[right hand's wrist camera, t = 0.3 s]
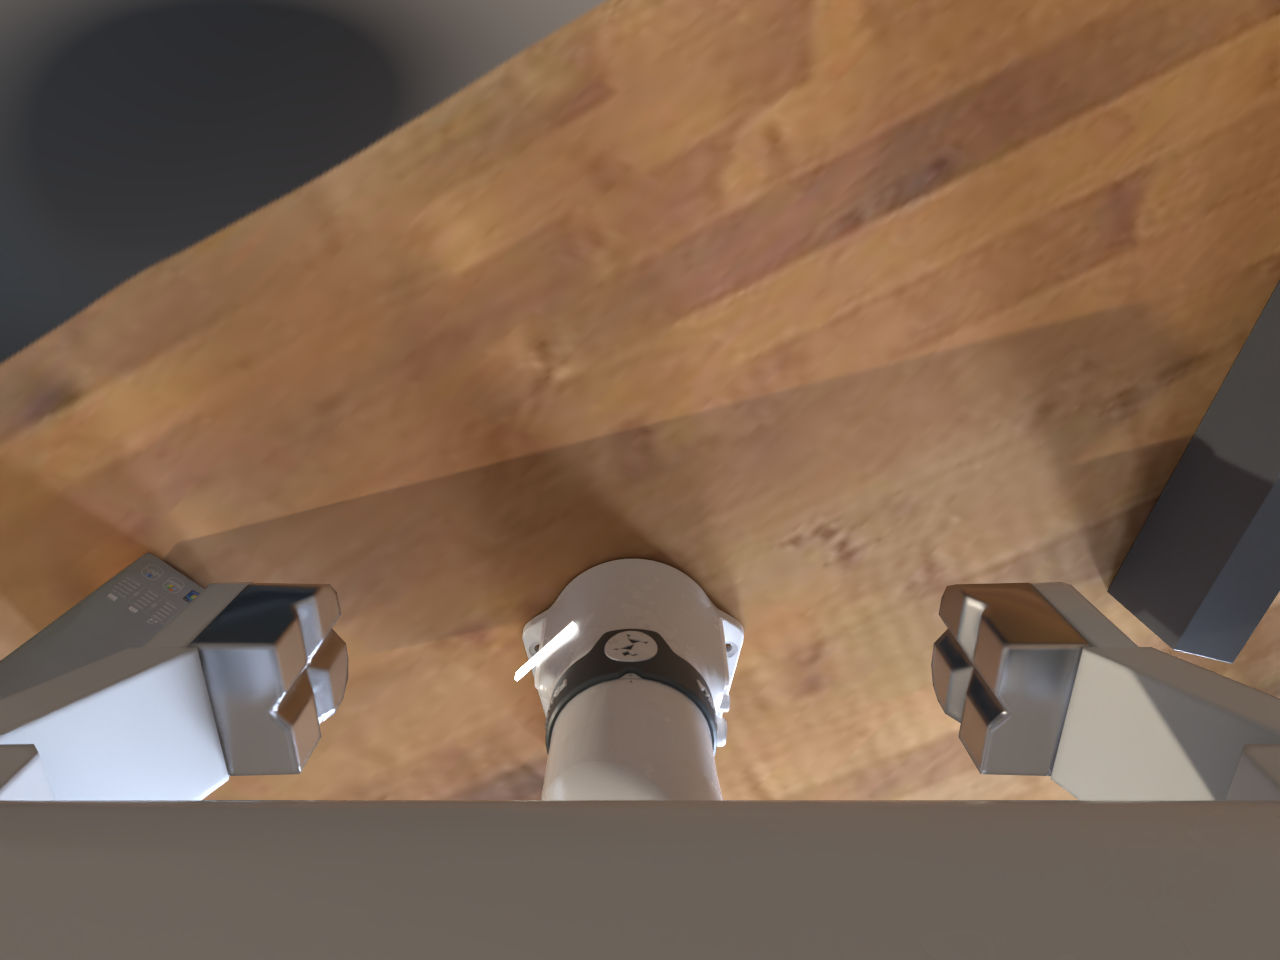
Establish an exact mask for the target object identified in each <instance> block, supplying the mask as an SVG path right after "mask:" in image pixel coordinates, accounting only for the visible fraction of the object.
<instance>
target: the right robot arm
mask: <svg viewBox="0 0 1280 960" xmlns="http://www.w3.org/2000/svg"><path fill="white" fill-rule="evenodd" d="M340 615H341V611H340V606H339V601H338V596H337V592H336V591H335V590H334V588H333V587H332V586H331V585H330V584H285V583H253V582H238V583H216V584H210V585H209V586H208V587H207V588H205V589H204V590H203V591H202V592H201V593H200V594H199V595H198V596H197V597H196V598H194V599H193V600H192V601H191V602H190V603H189V604H188V605H187V606H186V607H185V608H183V609H182V610H181V611H180V612H179V613H178V614H177V615H176V616H175V617H174V618H173V619H171V620H170V621H169V622H168V623H167V624H166V625H165V626H164V627H163V628H162V629H160V630H159V631H158V632H157V633H156V634H155V635H154V636H153V637H152V638H151V639H149V640H148V641H147V642H146V643H145V644H144V645H143V646H142V647H128V648H125V649H123V650H120V651H118V652H115V653H113V654H110V655H108V656H105V657H103V658H101V659H98V660H96V661H93V662H91V663H88V664H86V665H83V666H81V667H78V668H76V669H73V670H71V671H68V672H66V673H63V674H61V675H58V676H56V677H53V678H51V679H48V680H46V681H43V682H41V683H38V684H36V685H33V686H31V687H28V688H26V689H23V690H21V691H18V692H16V693H13V694H11V695H8V696H6V697H3V698H1V699H0V960H1280V699H1279V698H1276V697H1274V696H1271V695H1269V694H1266V693H1264V692H1261V691H1259V690H1256V689H1254V688H1251V687H1249V686H1246V685H1244V684H1241V683H1239V682H1237V681H1234V680H1232V679H1229V678H1227V677H1224V676H1222V675H1219V674H1217V673H1214V672H1212V671H1209V670H1207V669H1204V668H1202V667H1199V666H1197V665H1194V664H1192V663H1189V662H1187V661H1184V660H1182V659H1179V658H1177V657H1174V656H1172V655H1169V654H1167V653H1165V652H1162V651H1160V650H1157V649H1155V648H1152V647H1138V646H1137V645H1136V644H1135V643H1134V642H1133V641H1132V640H1131V639H1130V638H1128V637H1127V636H1126V635H1125V634H1124V633H1123V632H1122V631H1121V630H1120V629H1119V628H1117V627H1116V626H1115V625H1114V624H1113V623H1112V622H1111V621H1110V620H1109V619H1108V618H1107V617H1105V616H1104V615H1103V614H1102V613H1101V612H1100V611H1099V610H1098V609H1097V608H1096V607H1095V606H1093V605H1092V604H1091V603H1090V602H1089V601H1088V600H1087V599H1086V598H1085V597H1084V596H1082V595H1081V594H1080V593H1079V592H1078V591H1077V590H1076V589H1075V588H1074V587H1073V586H1072V585H1069V584H1066V583H1063V582H1049V583H999V584H957V585H951V586H947V587H946V589H945V591H944V594H943V596H942V599H941V605H940V610H939V615H940V617H941V618H942V620H943V622H944V623H945V625H946V626H947V628H948V629H947V630H946V631H945V632H944V633H943V634H942V636H941V637H940V638H939V639H938V640H937V641H936V642H935V643H934V648H933V656H932V664H931V667H932V678H933V687H934V690H935V693H936V696H937V699H938V702H939V703H940V705H941V707H942V709H943V711H944V712H945V714H947V715H948V716H950V717H952V718H953V719H955V720H957V721H958V722H960V723H961V726H960V732H959V738H960V740H961V742H962V743H963V745H964V747H965V749H966V750H967V752H968V754H969V755H970V757H971V759H972V760H973V762H974V764H975V766H976V767H977V769H978V771H979V772H980V774H997V775H1034V776H1051V780H1053V781H1054V782H1055V783H1057V784H1058V785H1059V786H1061V787H1062V788H1063V789H1065V790H1066V791H1067V792H1069V793H1070V794H1071V795H1073V796H1074V797H1076V798H1077V799H1078V800H723V798H722V794H721V790H720V786H719V781H718V777H717V772H716V766H715V760H714V756H715V753H716V747H717V746H718V747H722V746H724V745H725V742H726V736H727V721H726V719H724V718H721V717H722V714H723V712H728V710H729V706H730V696H729V695H728V693H729V689H730V686H731V682H732V679H733V675H734V671H735V668H736V664H737V661H738V657H739V654H740V650H741V647H742V643H743V639H744V631H743V627H742V625H741V624H740V623H739V622H738V621H737V620H736V619H734V618H733V617H731V616H730V615H728V614H726V613H725V612H723V611H721V610H719V609H718V608H717V607H716V606H715V605H714V604H713V603H712V602H711V601H710V599H709V598H708V596H707V595H706V594H705V592H704V591H703V590H702V589H701V587H700V586H699V585H698V584H697V583H696V582H695V581H694V580H692V579H691V578H690V577H689V576H687V575H686V574H684V573H683V572H681V571H679V570H678V569H676V568H674V567H671V566H669V565H666V564H664V563H660V562H657V561H652V560H646V559H619V560H613V561H609V562H605V563H602V564H599V565H597V566H594V567H592V568H590V569H588V570H586V571H585V572H583V573H582V574H580V575H579V576H577V577H576V578H575V579H573V580H572V581H571V582H570V583H569V584H568V585H567V586H566V587H565V589H564V590H563V591H562V592H561V594H560V595H559V597H558V598H557V599H556V601H555V602H554V604H553V605H552V606H551V607H550V608H549V609H548V610H546V611H544V612H543V613H541V614H539V615H538V616H536V617H534V618H533V619H531V620H530V621H529V622H528V623H527V624H526V625H525V626H524V628H523V643H524V646H525V649H526V653H527V656H528V659H529V661H528V662H527V663H526V664H525V665H523V666H522V667H521V668H520V669H519V670H518V671H517V672H516V675H515V680H516V681H518V680H519V679H520V678H522V677H523V676H524V675H525V674H526V673H527V672H528V671H529V670H531V669H532V672H533V676H534V679H535V687H536V688H537V689H538V692H539V696H540V699H541V702H542V705H543V709H544V712H545V715H546V726H545V729H546V748H547V753H548V760H547V767H546V773H545V779H544V785H543V792H542V798H541V800H202V799H203V798H205V797H206V796H207V795H209V794H210V793H211V792H213V791H214V790H215V789H217V788H218V787H220V786H221V785H222V784H224V783H225V782H226V781H228V780H229V776H246V775H282V774H300V772H301V771H302V769H303V767H304V766H305V764H306V762H307V761H308V759H309V757H310V755H311V754H312V752H313V750H314V749H315V747H316V745H317V743H318V742H319V740H320V738H321V732H320V726H319V723H320V722H322V721H323V720H325V719H327V718H328V717H330V716H332V715H333V714H335V712H336V711H337V709H338V707H339V705H340V703H341V701H342V699H343V697H344V693H345V688H346V684H347V680H348V654H347V647H346V643H345V642H344V641H343V640H342V639H341V638H340V637H339V636H338V634H337V633H336V632H335V631H334V630H333V629H332V628H333V626H334V625H335V623H336V622H337V620H338V618H339V617H340ZM538 644H540V645H539V648H538V647H537V646H536V645H538ZM726 644H730V646H729V647H726Z"/></svg>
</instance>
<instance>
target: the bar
mask: <svg viewBox="0 0 1280 960" xmlns="http://www.w3.org/2000/svg"><path fill="white" fill-rule="evenodd" d="M1279 591H1280V281H1279V283H1278V284H1277V286H1276V288H1275V290H1274V292H1273V293H1272V295H1271V297H1270V299H1269V301H1268V302H1267V304H1266V306H1265V308H1264V310H1263V311H1262V313H1261V315H1260V317H1259V319H1258V320H1257V322H1256V324H1255V326H1254V328H1253V329H1252V331H1251V333H1250V335H1249V337H1248V338H1247V340H1246V342H1245V344H1244V346H1243V347H1242V349H1241V351H1240V353H1239V355H1238V356H1237V358H1236V360H1235V362H1234V364H1233V365H1232V367H1231V369H1230V371H1229V373H1228V374H1227V376H1226V378H1225V380H1224V382H1223V383H1222V385H1221V387H1220V389H1219V391H1218V393H1217V394H1216V396H1215V398H1214V400H1213V402H1212V403H1211V405H1210V407H1209V409H1208V411H1207V412H1206V414H1205V416H1204V418H1203V420H1202V421H1201V423H1200V425H1199V427H1198V429H1197V430H1196V432H1195V434H1194V436H1193V438H1192V439H1191V441H1190V443H1189V445H1188V447H1187V448H1186V450H1185V452H1184V454H1183V456H1182V457H1181V459H1180V461H1179V463H1178V465H1177V466H1176V468H1175V470H1174V472H1173V474H1172V475H1171V477H1170V479H1169V481H1168V483H1167V484H1166V486H1165V488H1164V490H1163V492H1162V493H1161V495H1160V497H1159V499H1158V501H1157V502H1156V504H1155V506H1154V508H1153V510H1152V511H1151V513H1150V515H1149V517H1148V519H1147V520H1146V522H1145V524H1144V526H1143V528H1142V529H1141V531H1140V533H1139V535H1138V537H1137V538H1136V540H1135V542H1134V544H1133V546H1132V547H1131V549H1130V551H1129V553H1128V555H1127V556H1126V558H1125V560H1124V562H1123V564H1122V566H1121V567H1120V569H1119V571H1118V573H1117V575H1116V576H1115V578H1114V580H1113V582H1112V584H1111V585H1110V587H1109V589H1108V591H1107V592H1108V593H1109V594H1110V595H1112V596H1113V597H1114V598H1115V599H1116V600H1117V601H1118V602H1120V603H1121V604H1122V605H1123V606H1124V607H1125V608H1126V609H1128V610H1129V611H1130V612H1131V613H1132V614H1133V615H1134V616H1136V617H1137V618H1138V619H1139V620H1140V621H1141V622H1142V623H1144V624H1145V625H1146V626H1147V627H1148V628H1149V629H1150V630H1152V631H1153V632H1154V633H1155V634H1156V635H1157V636H1158V637H1159V638H1161V639H1162V640H1163V641H1164V642H1165V643H1166V644H1167V645H1169V646H1170V647H1171V648H1172V649H1173V650H1177V651H1182V652H1186V653H1190V654H1194V655H1198V656H1202V657H1207V658H1211V659H1215V660H1219V661H1223V662H1227V663H1233V662H1234V660H1235V659H1236V657H1237V656H1238V654H1239V653H1240V651H1241V650H1242V648H1243V647H1244V645H1245V644H1246V642H1247V640H1248V639H1249V637H1250V636H1251V634H1252V633H1253V631H1254V630H1255V628H1256V627H1257V625H1258V624H1259V622H1260V620H1261V619H1262V617H1263V616H1264V614H1265V613H1266V611H1267V610H1268V608H1269V607H1270V605H1271V603H1272V602H1273V600H1274V599H1275V597H1276V596H1277V594H1278V593H1279Z"/></svg>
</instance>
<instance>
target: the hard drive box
mask: <svg viewBox="0 0 1280 960" xmlns="http://www.w3.org/2000/svg"><path fill="white" fill-rule="evenodd" d="M203 590H204V588H202V587H201V586H199V585H198V584H196V583H195V582H193V581H192V580H190V579H189V578H187V577H186V576H184V575H183V574H181V573H180V572H178V571H177V570H175V569H174V568H172V567H171V566H169V565H168V564H166V563H165V562H163V561H162V560H160V559H159V558H157V557H156V556H154V555H153V554H151V553H146V554H144V555H143V556H142V557H140V558H139V559H137V560H136V561H135V562H133V563H132V564H131V565H129V566H128V567H126V568H125V569H124V570H122V571H121V572H119V573H118V574H117V575H115V576H114V577H113V578H111V579H110V580H109V581H107V582H106V583H105V584H103V585H102V586H101V587H99V588H98V589H96V590H95V591H94V592H92V593H91V594H90V595H89V596H87V597H86V598H84V599H83V600H82V601H80V602H79V603H78V604H76V605H75V606H74V607H72V608H71V609H70V610H68V611H67V612H66V613H64V614H63V615H62V616H60V617H59V618H58V619H56V620H55V621H54V622H52V623H51V624H50V625H48V626H47V627H46V628H44V629H43V630H42V631H40V632H39V633H37V634H36V635H35V636H33V637H32V638H31V639H29V640H28V641H27V642H25V643H24V644H23V645H21V646H20V647H19V648H17V649H16V650H15V651H13V652H12V653H11V654H9V655H8V656H6V657H5V658H4V659H2V660H1V661H0V699H1V698H3V697H6V696H8V695H11V694H13V693H16V692H18V691H21V690H23V689H26V688H28V687H31V686H33V685H36V684H38V683H41V682H43V681H46V680H48V679H51V678H53V677H56V676H58V675H61V674H63V673H66V672H68V671H71V670H73V669H76V668H78V667H81V666H83V665H86V664H88V663H91V662H93V661H96V660H98V659H101V658H103V657H105V656H108V655H110V654H113V653H115V652H118V651H120V650H123V649H125V648H128V647H142V646H143V645H144V644H145V643H146V642H147V641H148V640H149V639H151V638H152V637H153V636H154V635H155V634H156V633H157V632H158V631H159V630H160V629H162V628H163V627H164V626H165V625H166V624H167V623H168V622H169V621H170V620H171V619H173V618H174V617H175V616H176V615H177V614H178V613H179V612H180V611H181V610H182V609H183V608H185V607H186V606H187V605H188V604H189V603H190V602H191V601H192V600H193V599H194V598H196V597H197V596H198V595H199V594H200V593H201V592H202V591H203Z"/></svg>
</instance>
